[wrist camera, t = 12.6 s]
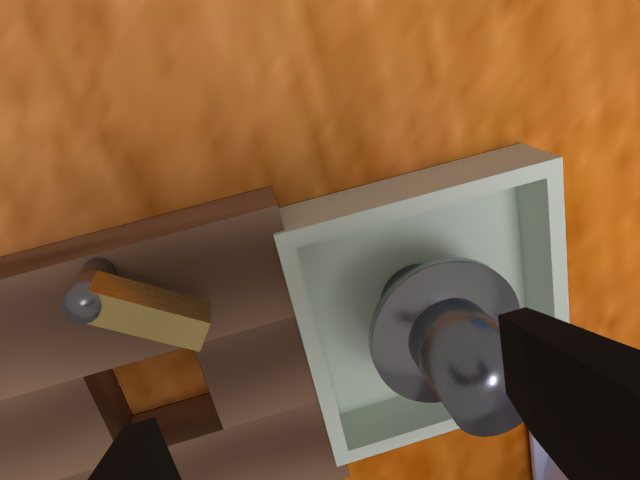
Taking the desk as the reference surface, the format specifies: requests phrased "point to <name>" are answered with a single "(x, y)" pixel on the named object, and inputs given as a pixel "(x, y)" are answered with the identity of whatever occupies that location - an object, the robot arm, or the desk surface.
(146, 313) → the lever
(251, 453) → the socket block
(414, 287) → the pin
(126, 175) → the desk surface
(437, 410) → the tray
